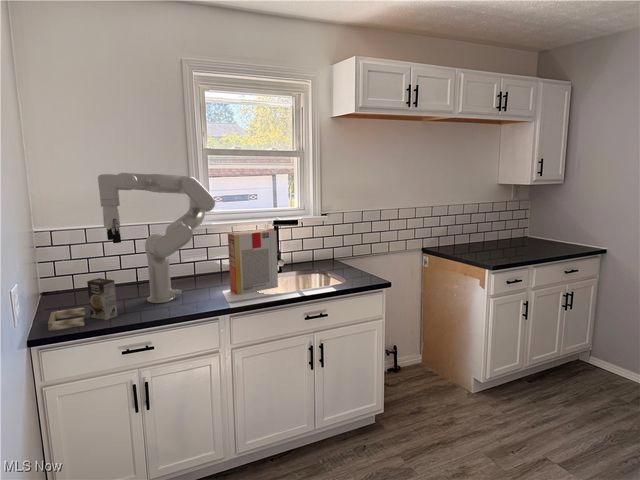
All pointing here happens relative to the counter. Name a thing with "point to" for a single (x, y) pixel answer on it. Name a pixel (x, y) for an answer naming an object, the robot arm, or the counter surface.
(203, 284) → the counter surface
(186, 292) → the counter surface
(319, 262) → the counter surface
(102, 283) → the coffee box
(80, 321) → the dock
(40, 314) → the counter surface
